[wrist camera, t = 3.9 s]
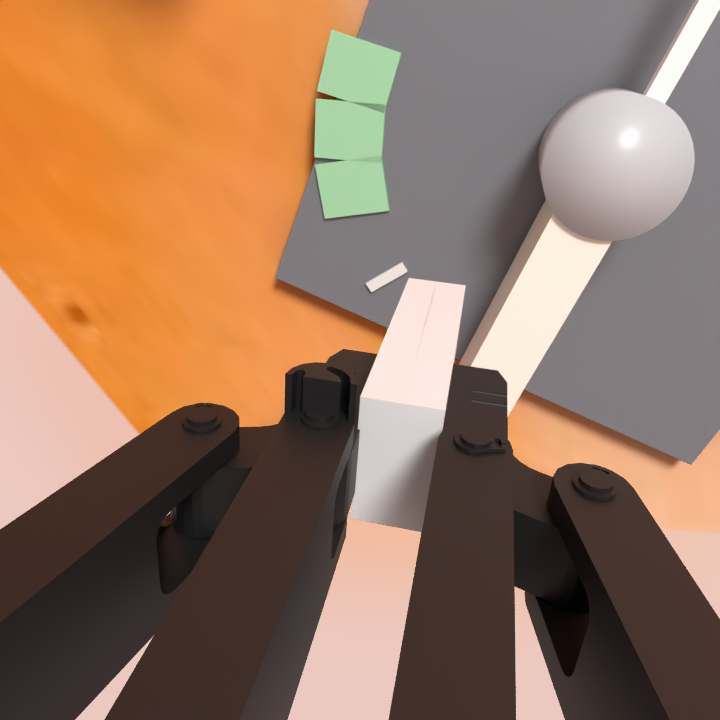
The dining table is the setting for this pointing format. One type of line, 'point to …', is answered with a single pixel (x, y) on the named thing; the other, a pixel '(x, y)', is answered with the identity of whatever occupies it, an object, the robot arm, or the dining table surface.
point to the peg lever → (590, 205)
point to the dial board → (517, 193)
